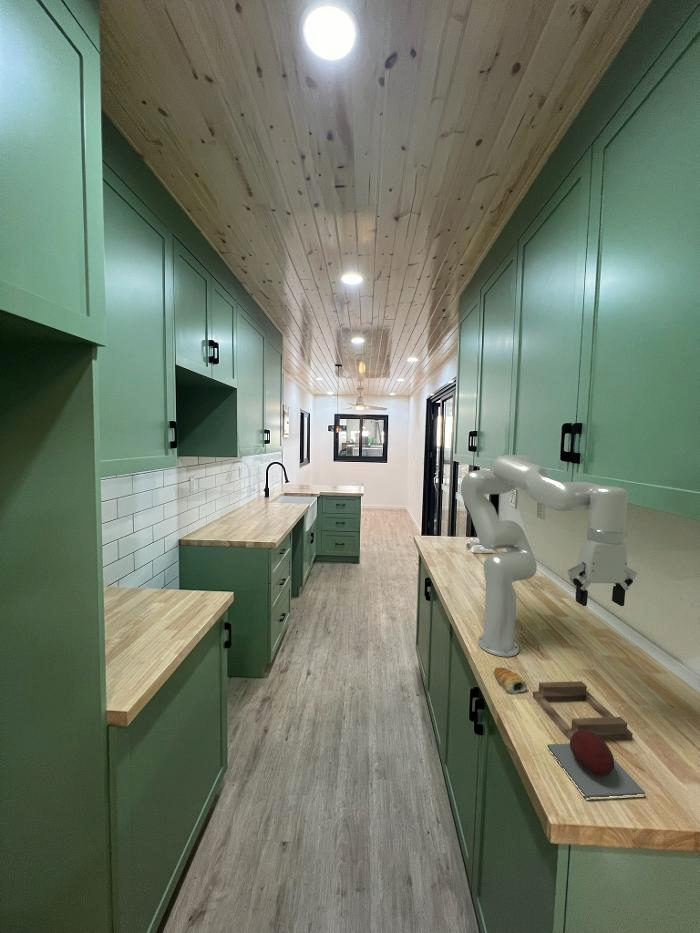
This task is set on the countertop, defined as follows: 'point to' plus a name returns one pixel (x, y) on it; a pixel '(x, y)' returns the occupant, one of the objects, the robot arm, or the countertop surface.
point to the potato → (592, 752)
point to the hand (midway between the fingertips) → (599, 603)
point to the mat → (595, 776)
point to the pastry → (510, 680)
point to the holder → (603, 727)
